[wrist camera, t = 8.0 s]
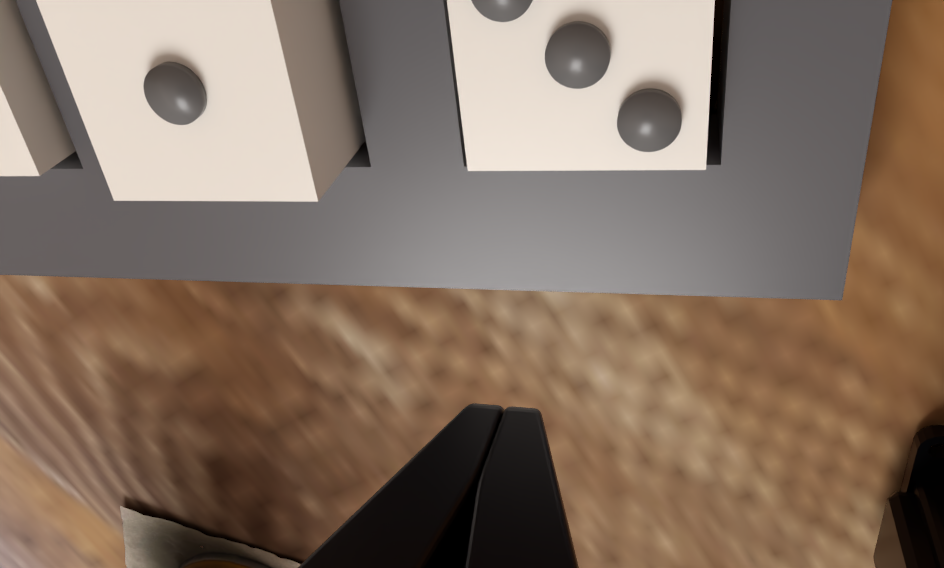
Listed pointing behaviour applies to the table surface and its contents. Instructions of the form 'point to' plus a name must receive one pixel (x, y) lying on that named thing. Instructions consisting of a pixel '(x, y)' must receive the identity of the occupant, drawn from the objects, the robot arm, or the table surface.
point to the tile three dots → (583, 83)
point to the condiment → (186, 547)
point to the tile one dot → (211, 95)
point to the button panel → (508, 181)
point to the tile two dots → (26, 104)
